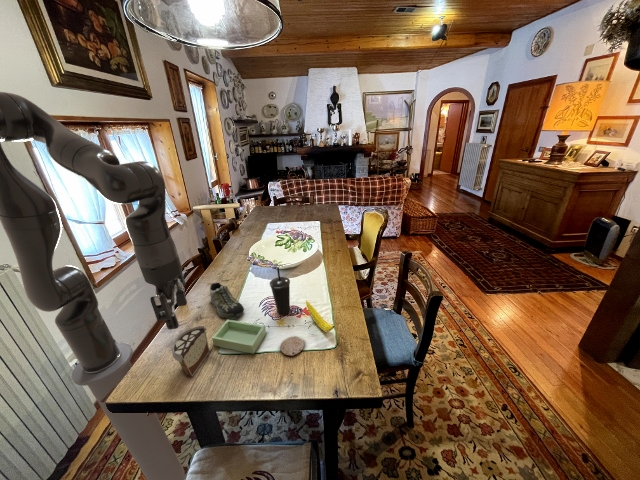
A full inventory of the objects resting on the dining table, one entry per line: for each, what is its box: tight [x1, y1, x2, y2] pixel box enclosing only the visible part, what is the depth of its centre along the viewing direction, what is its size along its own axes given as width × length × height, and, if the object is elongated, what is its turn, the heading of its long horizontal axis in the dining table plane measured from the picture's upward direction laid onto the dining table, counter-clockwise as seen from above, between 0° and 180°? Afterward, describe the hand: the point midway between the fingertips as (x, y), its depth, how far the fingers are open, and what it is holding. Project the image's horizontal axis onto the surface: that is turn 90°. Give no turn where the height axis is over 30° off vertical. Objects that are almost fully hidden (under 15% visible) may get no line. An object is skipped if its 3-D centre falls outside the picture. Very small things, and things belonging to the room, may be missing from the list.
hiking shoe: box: [209, 282, 245, 320], centre depth 102 cm, size 8×21×9 cm, turn 47°
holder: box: [211, 319, 267, 355], centre depth 87 cm, size 15×9×4 cm, turn 75°
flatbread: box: [279, 335, 305, 357], centre depth 84 cm, size 8×8×1 cm
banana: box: [305, 300, 336, 332], centre depth 92 cm, size 3×19×6 cm, turn 32°
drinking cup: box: [269, 266, 291, 316], centre depth 96 cm, size 8×8×20 cm
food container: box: [171, 325, 210, 378], centre depth 78 cm, size 12×6×10 cm, turn 171°
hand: (178, 315), depth 62 cm, fingers open, 8 cm apart
